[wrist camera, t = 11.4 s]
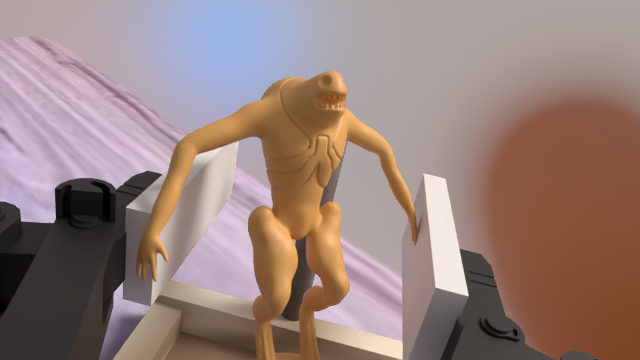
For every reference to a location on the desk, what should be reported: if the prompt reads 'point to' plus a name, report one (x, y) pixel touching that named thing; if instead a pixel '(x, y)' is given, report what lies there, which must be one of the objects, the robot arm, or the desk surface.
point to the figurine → (285, 196)
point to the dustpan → (244, 322)
